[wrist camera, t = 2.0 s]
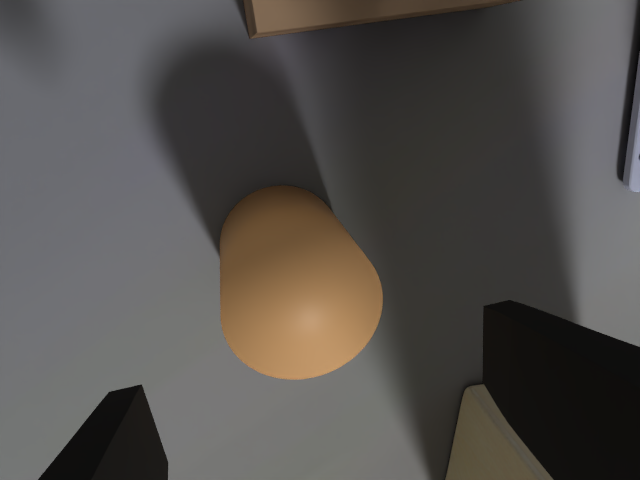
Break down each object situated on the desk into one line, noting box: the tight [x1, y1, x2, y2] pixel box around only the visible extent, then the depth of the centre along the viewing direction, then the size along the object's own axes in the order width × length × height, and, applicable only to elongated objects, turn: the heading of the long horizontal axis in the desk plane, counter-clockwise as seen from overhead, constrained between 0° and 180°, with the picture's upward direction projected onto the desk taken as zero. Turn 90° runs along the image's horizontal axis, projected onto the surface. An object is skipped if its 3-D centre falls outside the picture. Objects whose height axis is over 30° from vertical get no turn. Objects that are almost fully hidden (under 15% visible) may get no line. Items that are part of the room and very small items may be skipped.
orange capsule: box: [220, 185, 383, 379], centre depth 15 cm, size 4×4×5 cm
